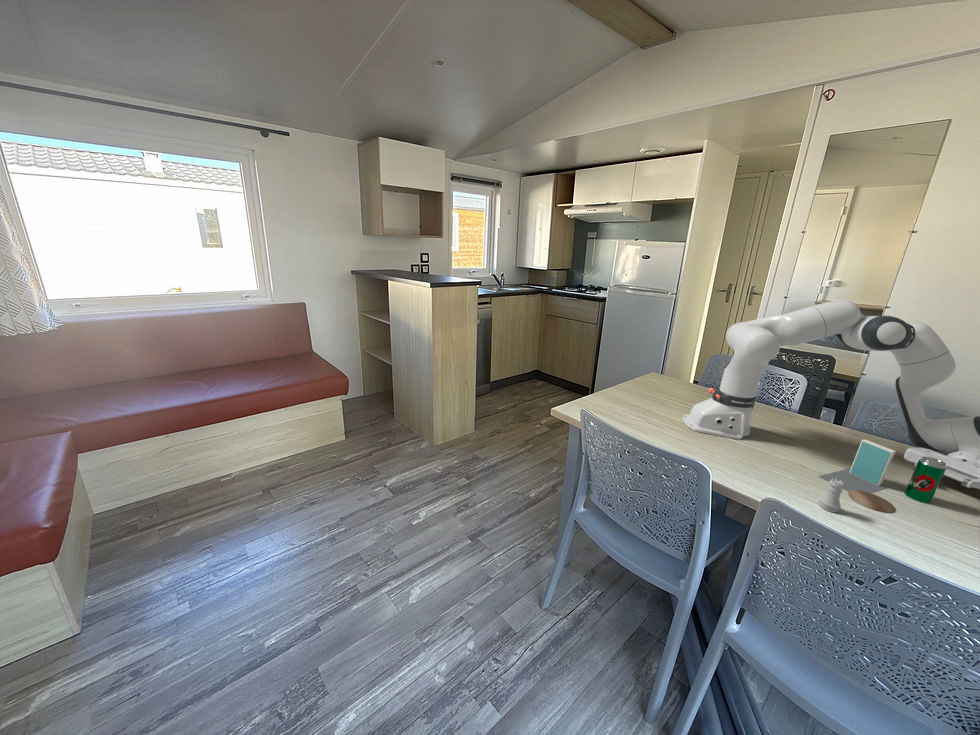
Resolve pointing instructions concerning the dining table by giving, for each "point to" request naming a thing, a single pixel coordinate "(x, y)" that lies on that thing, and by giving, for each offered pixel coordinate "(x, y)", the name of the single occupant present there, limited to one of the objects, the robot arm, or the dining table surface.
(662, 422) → the dining table surface
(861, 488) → the rubber mat
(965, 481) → the robot arm
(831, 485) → the rook chess piece
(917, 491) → the soda can
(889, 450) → the glazed tile
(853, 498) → the coaster
